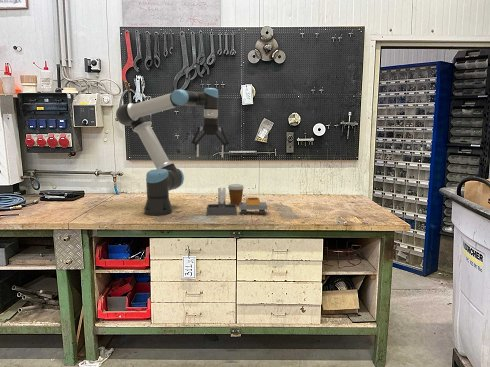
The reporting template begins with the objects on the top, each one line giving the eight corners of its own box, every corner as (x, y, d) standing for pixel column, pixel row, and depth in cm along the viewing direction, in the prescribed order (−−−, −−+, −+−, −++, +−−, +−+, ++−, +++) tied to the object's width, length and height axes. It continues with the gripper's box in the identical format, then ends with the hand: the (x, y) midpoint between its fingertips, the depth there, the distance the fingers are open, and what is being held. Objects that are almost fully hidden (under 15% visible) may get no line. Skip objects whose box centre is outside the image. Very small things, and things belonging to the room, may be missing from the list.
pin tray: (206, 215, 201) (206, 207, 201) (207, 211, 210) (207, 204, 210) (236, 215, 202) (236, 207, 201) (236, 211, 211) (236, 204, 210)
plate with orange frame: (239, 215, 202) (239, 200, 201) (239, 211, 211) (239, 197, 210) (267, 214, 203) (267, 200, 201) (265, 211, 212) (265, 197, 210)
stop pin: (218, 212, 204) (218, 189, 202) (218, 210, 208) (218, 187, 206) (225, 212, 204) (225, 189, 202) (225, 210, 208) (225, 187, 206)
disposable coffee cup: (231, 207, 221) (231, 187, 219) (225, 204, 229) (225, 184, 227) (246, 206, 224) (246, 186, 222) (240, 202, 233) (240, 183, 231)
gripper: (186, 116, 198) (186, 157, 202) (233, 118, 199) (232, 158, 203) (188, 116, 206) (188, 155, 209) (234, 118, 206) (232, 157, 210)
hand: (210, 157), depth 206 cm, fingers open, 13 cm apart
